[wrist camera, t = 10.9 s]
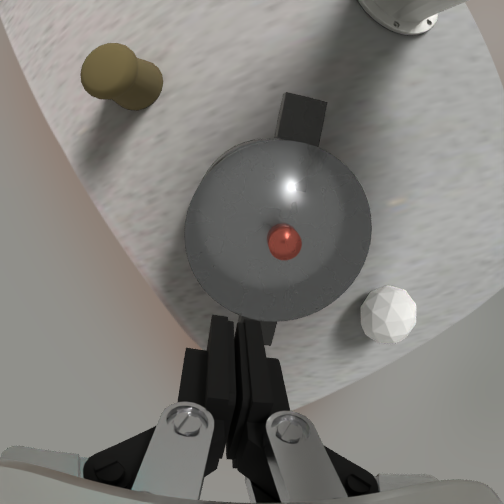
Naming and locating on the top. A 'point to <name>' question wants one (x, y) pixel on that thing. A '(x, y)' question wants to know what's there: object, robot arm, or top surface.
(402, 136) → the top surface
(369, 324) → the geometric ball
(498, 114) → the top surface
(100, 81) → the cork
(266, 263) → the lid
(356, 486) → the robot arm
